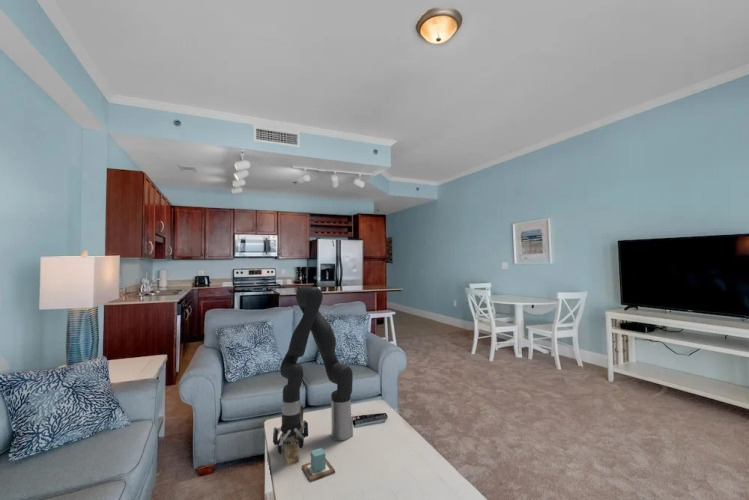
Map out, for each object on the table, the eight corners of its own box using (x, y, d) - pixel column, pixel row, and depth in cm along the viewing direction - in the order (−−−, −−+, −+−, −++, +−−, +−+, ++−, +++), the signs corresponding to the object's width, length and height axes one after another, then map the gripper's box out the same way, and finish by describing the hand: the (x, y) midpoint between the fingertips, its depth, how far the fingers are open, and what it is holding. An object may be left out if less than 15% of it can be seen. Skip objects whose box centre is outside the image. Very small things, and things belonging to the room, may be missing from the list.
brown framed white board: (325, 460, 139) (325, 457, 139) (335, 473, 130) (335, 470, 130) (301, 468, 134) (301, 465, 134) (310, 482, 125) (310, 479, 125)
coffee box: (295, 452, 145) (295, 414, 145) (281, 450, 146) (281, 413, 147) (304, 440, 154) (303, 405, 154) (291, 439, 155) (290, 404, 156)
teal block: (321, 462, 135) (321, 447, 135) (325, 468, 131) (325, 453, 131) (310, 466, 133) (310, 451, 133) (314, 472, 129) (314, 456, 129)
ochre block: (295, 456, 142) (295, 442, 142) (298, 462, 138) (298, 447, 138) (284, 460, 139) (284, 445, 140) (288, 465, 135) (287, 450, 136)
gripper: (276, 418, 132) (275, 460, 131) (310, 410, 140) (310, 450, 139) (271, 411, 139) (271, 451, 138) (304, 403, 146) (304, 441, 145)
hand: (290, 450), depth 138 cm, fingers open, 8 cm apart
